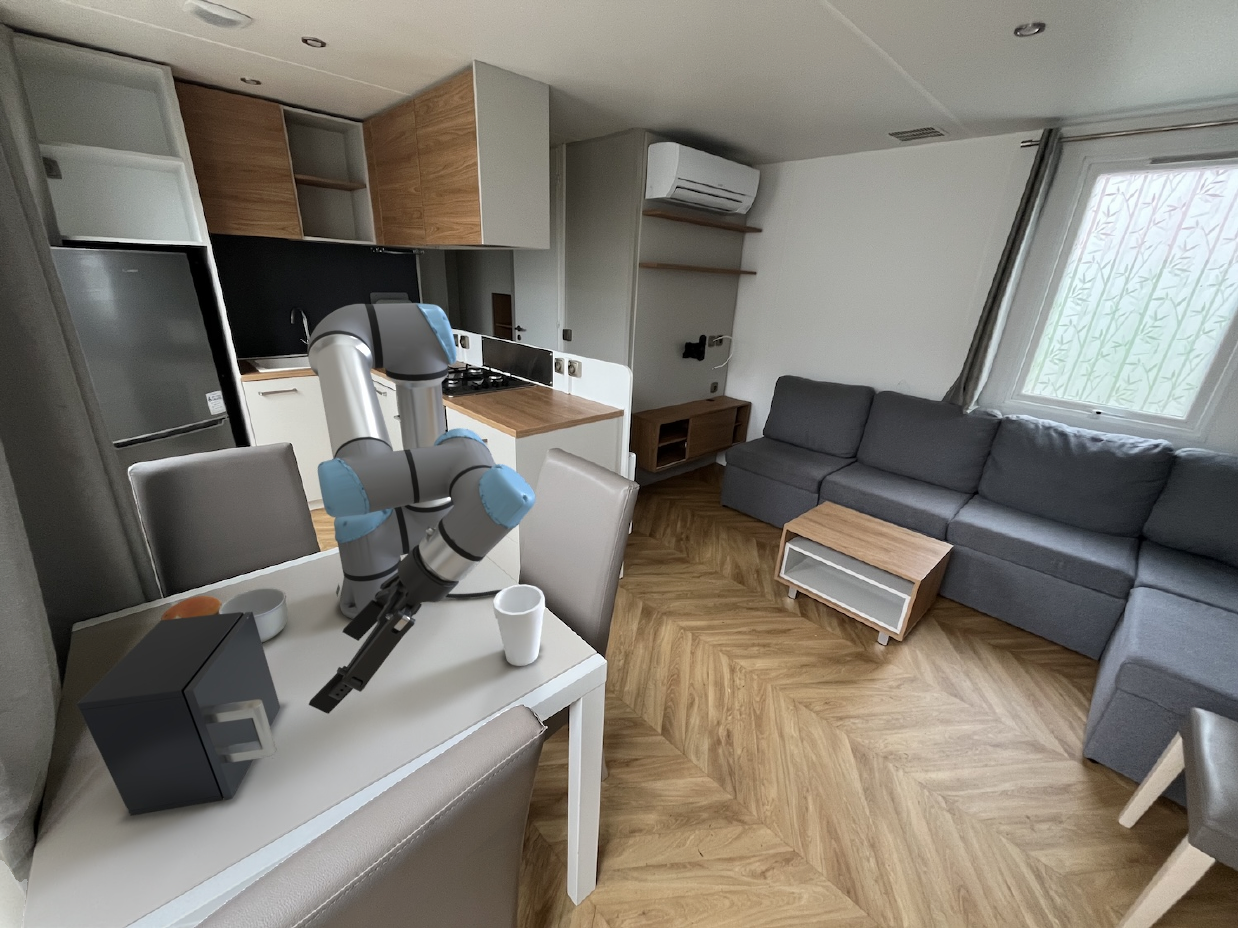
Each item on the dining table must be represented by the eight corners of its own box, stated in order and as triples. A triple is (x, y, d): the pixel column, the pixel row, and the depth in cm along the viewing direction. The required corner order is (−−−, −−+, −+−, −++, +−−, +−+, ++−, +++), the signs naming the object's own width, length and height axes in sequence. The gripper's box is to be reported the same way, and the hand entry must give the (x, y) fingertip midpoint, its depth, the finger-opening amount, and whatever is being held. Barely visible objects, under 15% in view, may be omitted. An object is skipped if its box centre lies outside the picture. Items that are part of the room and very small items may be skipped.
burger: (230, 604, 109) (224, 587, 108) (218, 630, 102) (212, 612, 100) (173, 616, 105) (167, 598, 104) (157, 644, 98) (150, 625, 96)
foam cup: (556, 654, 97) (554, 599, 93) (517, 679, 91) (513, 621, 86) (526, 631, 103) (523, 578, 99) (488, 654, 97) (483, 598, 92)
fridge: (272, 709, 84) (243, 611, 77) (222, 800, 69) (180, 690, 62) (198, 719, 81) (161, 619, 74) (130, 816, 67) (76, 703, 60)
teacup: (250, 618, 105) (241, 586, 103) (303, 616, 106) (295, 584, 104) (204, 665, 92) (192, 631, 90) (265, 663, 93) (255, 628, 91)
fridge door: (318, 702, 85) (293, 607, 78) (278, 790, 70) (244, 683, 63) (274, 708, 84) (245, 612, 77) (224, 799, 69) (183, 691, 62)
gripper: (429, 506, 75) (340, 599, 78) (396, 604, 52) (270, 732, 55) (468, 533, 78) (381, 622, 80) (453, 638, 55) (331, 759, 58)
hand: (336, 667), depth 68 cm, fingers open, 13 cm apart
